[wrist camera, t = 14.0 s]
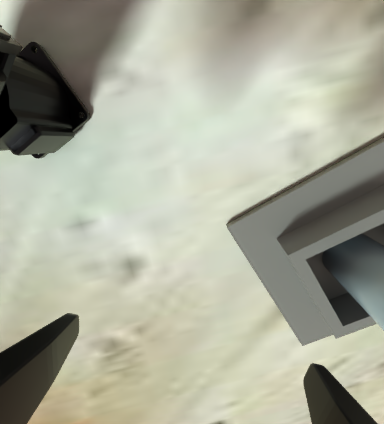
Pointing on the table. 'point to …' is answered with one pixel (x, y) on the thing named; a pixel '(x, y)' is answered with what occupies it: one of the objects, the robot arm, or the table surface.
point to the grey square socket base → (316, 243)
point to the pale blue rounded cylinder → (360, 272)
